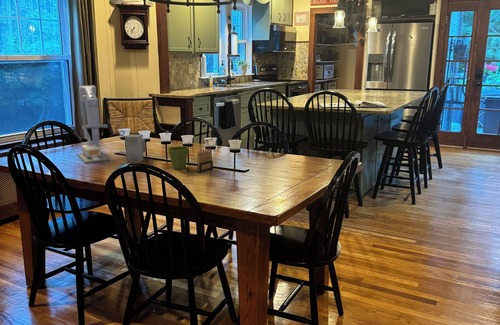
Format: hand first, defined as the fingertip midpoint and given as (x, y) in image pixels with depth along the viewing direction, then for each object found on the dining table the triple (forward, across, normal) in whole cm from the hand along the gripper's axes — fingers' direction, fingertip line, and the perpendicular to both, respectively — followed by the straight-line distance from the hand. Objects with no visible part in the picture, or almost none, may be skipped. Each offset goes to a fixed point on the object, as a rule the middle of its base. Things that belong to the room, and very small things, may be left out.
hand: (96, 140), depth 279 cm
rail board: (+10, -3, -2) cm, 11 cm away
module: (+9, -3, -3) cm, 10 cm away
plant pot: (+12, +33, -53) cm, 64 cm away
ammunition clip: (+12, +43, -66) cm, 80 cm away
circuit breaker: (+11, +19, -19) cm, 29 cm away
